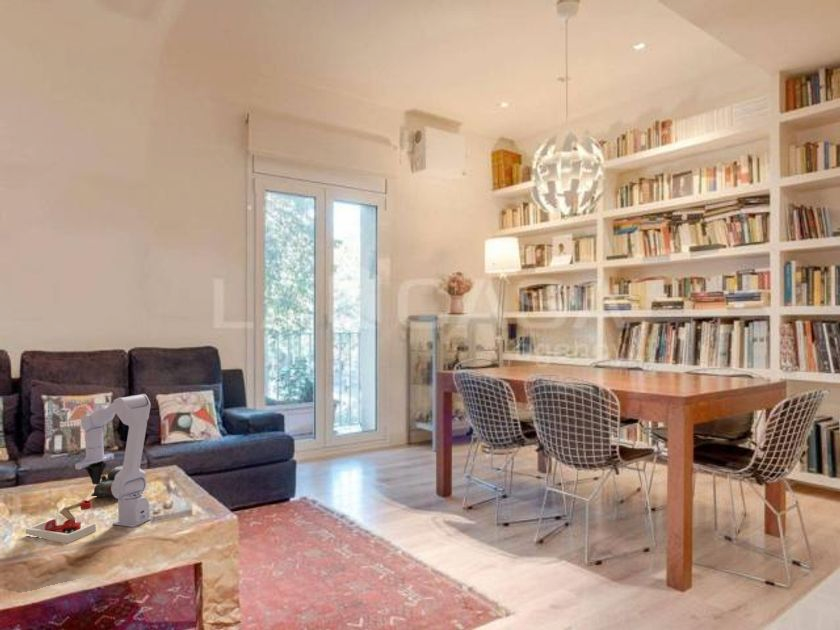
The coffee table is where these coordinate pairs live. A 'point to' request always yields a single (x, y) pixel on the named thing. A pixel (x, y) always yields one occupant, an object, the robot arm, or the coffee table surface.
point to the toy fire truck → (70, 523)
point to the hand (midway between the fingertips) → (96, 483)
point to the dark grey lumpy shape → (106, 483)
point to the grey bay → (57, 536)
